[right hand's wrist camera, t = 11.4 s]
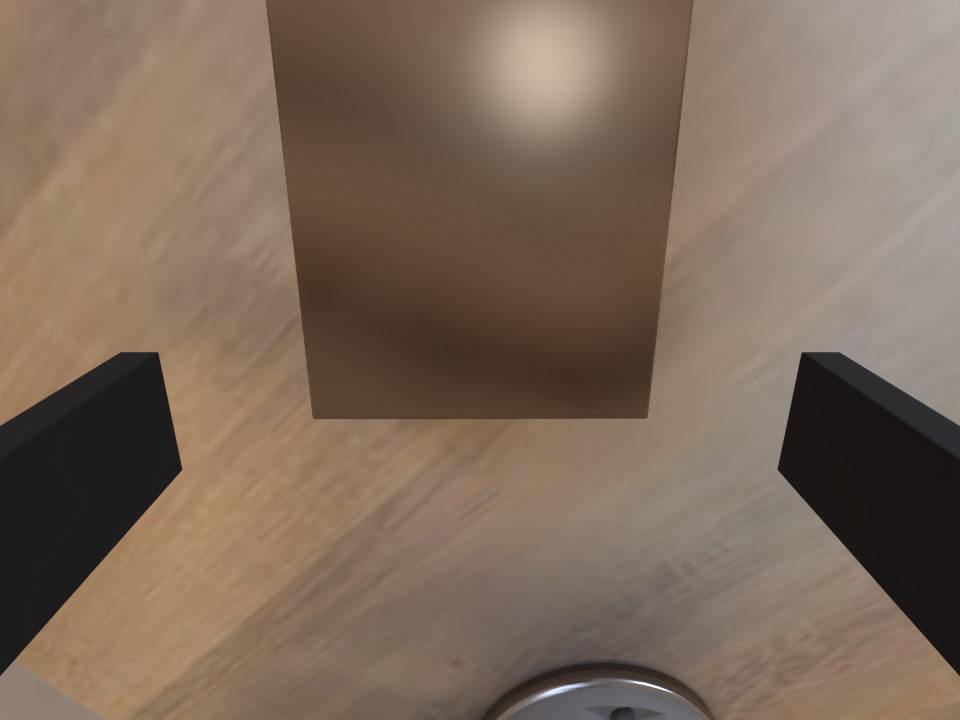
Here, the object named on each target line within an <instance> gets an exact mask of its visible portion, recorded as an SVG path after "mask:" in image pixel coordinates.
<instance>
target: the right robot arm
mask: <svg viewBox="0 0 960 720" xmlns="http://www.w3.org/2000/svg"><path fill="white" fill-rule="evenodd" d="M181 471H182V466H181V461H180V456H179V451H178V446H177V441H176V436H175V432H174V427H173V422H172V417H171V412H170V407H169V402H168V398H167V393H166V388H165V383H164V378H163V373H162V368H161V364H160V359H159V354H158V352H120V353H119V354H117V355H116V356H114V357H112V358H111V359H109V360H107V361H106V362H104V363H102V364H101V365H99V366H98V367H96V368H94V369H93V370H91V371H89V372H88V373H86V374H84V375H83V376H81V377H80V378H78V379H76V380H75V381H73V382H71V383H70V384H68V385H66V386H65V387H63V388H62V389H60V390H58V391H57V392H55V393H53V394H52V395H50V396H48V397H47V398H45V399H44V400H42V401H40V402H39V403H37V404H35V405H34V406H32V407H31V408H29V409H27V410H26V411H24V412H22V413H21V414H19V415H17V416H16V417H14V418H13V419H11V420H9V421H8V422H6V423H4V424H3V425H1V426H0V676H1V675H2V673H3V672H4V671H5V670H6V669H7V668H8V667H9V666H10V664H11V663H12V662H13V661H14V660H15V659H16V658H17V657H18V655H19V654H20V653H21V652H22V651H23V650H24V649H25V647H26V646H27V645H28V644H29V643H30V642H31V641H32V640H33V638H34V637H35V636H36V635H37V634H38V633H39V632H40V630H41V629H42V628H43V627H44V626H45V625H46V624H47V623H48V621H49V620H50V619H51V618H52V617H53V616H54V615H55V613H56V612H57V611H58V610H59V609H60V608H61V607H62V606H63V604H64V603H65V602H66V601H67V600H68V599H69V598H70V596H71V595H72V594H73V593H74V592H75V591H76V590H77V589H78V587H79V586H80V585H81V584H82V583H83V582H84V581H85V579H86V578H87V577H88V576H89V575H90V574H91V573H92V572H93V570H94V569H95V568H96V567H97V566H98V565H99V564H100V562H101V561H102V560H103V559H104V558H105V557H106V556H107V555H108V553H109V552H110V551H111V550H112V549H113V548H114V547H115V545H116V544H117V543H118V542H119V541H120V540H121V539H122V538H123V536H124V535H125V534H126V533H127V532H128V531H129V530H130V528H131V527H132V526H133V525H134V524H135V523H136V522H137V521H138V519H139V518H140V517H141V516H142V515H143V514H144V513H145V511H146V510H147V509H148V508H149V507H150V506H151V505H152V504H153V502H154V501H155V500H156V499H157V498H158V497H159V496H160V495H161V493H162V492H163V491H164V490H165V489H166V488H167V487H168V485H169V484H170V483H171V482H172V481H173V480H174V479H175V478H176V476H177V475H178V474H179V473H180V472H181ZM778 471H779V472H780V473H781V474H782V475H783V476H784V478H785V479H786V480H787V481H788V482H789V483H790V484H791V485H792V487H793V488H794V489H795V490H796V491H797V492H798V493H799V495H800V496H801V497H802V498H803V499H804V500H805V501H806V502H807V504H808V505H809V506H810V507H811V508H812V509H813V510H814V512H815V513H816V514H817V515H818V516H819V517H820V518H821V519H822V521H823V522H824V523H825V524H826V525H827V526H828V527H829V528H830V530H831V531H832V532H833V533H834V534H835V535H836V536H837V538H838V539H839V540H840V541H841V542H842V543H843V544H844V545H845V547H846V548H847V549H848V550H849V551H850V552H851V553H852V555H853V556H854V557H855V558H856V559H857V560H858V561H859V562H860V564H861V565H862V566H863V567H864V568H865V569H866V570H867V572H868V573H869V574H870V575H871V576H872V577H873V578H874V579H875V581H876V582H877V583H878V584H879V585H880V586H881V587H882V589H883V590H884V591H885V592H886V593H887V594H888V595H889V596H890V598H891V599H892V600H893V601H894V602H895V603H896V604H897V606H898V607H899V608H900V609H901V610H902V611H903V612H904V613H905V615H906V616H907V617H908V618H909V619H910V620H911V621H912V623H913V624H914V625H915V626H916V627H917V628H918V629H919V630H920V632H921V633H922V634H923V635H924V636H925V637H926V638H927V640H928V641H929V642H930V643H931V644H932V645H933V646H934V647H935V649H936V650H937V651H938V652H939V653H940V654H941V655H942V657H943V658H944V659H945V660H946V661H947V662H948V663H949V664H950V666H951V667H952V668H953V669H954V670H955V671H956V672H957V673H958V675H959V676H960V426H959V425H957V424H956V423H954V422H952V421H951V420H949V419H947V418H946V417H944V416H943V415H941V414H939V413H938V412H936V411H934V410H933V409H931V408H929V407H928V406H926V405H925V404H923V403H921V402H920V401H918V400H916V399H915V398H913V397H912V396H910V395H908V394H907V393H905V392H903V391H902V390H900V389H898V388H897V387H895V386H894V385H892V384H890V383H889V382H887V381H885V380H884V379H882V378H880V377H879V376H877V375H876V374H874V373H872V372H871V371H869V370H867V369H866V368H864V367H862V366H861V365H859V364H858V363H856V362H854V361H853V360H851V359H849V358H848V357H846V356H844V355H843V354H841V353H840V352H802V354H801V359H800V364H799V368H798V373H797V378H796V383H795V388H794V393H793V398H792V402H791V407H790V412H789V417H788V422H787V427H786V432H785V436H784V441H783V446H782V451H781V456H780V461H779V466H778ZM482 720H714V718H713V716H712V714H711V712H710V711H709V709H708V708H707V706H706V705H705V704H704V703H703V701H702V700H701V699H700V698H699V697H698V696H697V695H696V694H695V693H694V692H692V691H691V690H690V689H688V688H687V687H686V686H684V685H683V684H681V683H679V682H678V681H676V680H674V679H672V678H670V677H668V676H665V675H663V674H660V673H658V672H655V671H652V670H648V669H644V668H640V667H635V666H630V665H621V664H586V665H578V666H572V667H567V668H562V669H559V670H555V671H551V672H548V673H545V674H543V675H540V676H537V677H535V678H533V679H531V680H528V681H527V682H525V683H523V684H521V685H519V686H517V687H516V688H514V689H513V690H511V691H510V692H508V693H507V694H506V695H505V696H503V697H502V698H501V699H500V700H499V701H497V702H496V703H495V704H494V705H493V706H492V707H491V709H490V710H489V711H488V712H487V713H486V715H485V716H484V718H483V719H482Z"/></svg>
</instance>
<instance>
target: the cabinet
mask: <svg viewBox="0 0 960 720" xmlns="http://www.w3.org/2000/svg"><path fill="white" fill-rule="evenodd" d="M266 6H267V15H268V24H269V32H270V41H271V50H272V59H273V68H274V77H275V86H276V95H277V103H278V112H279V121H280V130H281V139H282V148H283V157H284V166H285V175H286V183H287V192H288V201H289V210H290V219H291V228H292V237H293V246H294V254H295V263H296V272H297V281H298V290H299V299H300V308H301V317H302V325H303V334H304V343H305V352H306V361H307V370H308V379H309V388H310V396H311V405H312V414H313V418H314V419H581V418H647V416H648V409H649V400H650V391H651V382H652V373H653V363H654V354H655V345H656V336H657V327H658V318H659V309H660V300H661V291H662V282H663V272H664V263H665V254H666V245H667V236H668V227H669V218H670V209H671V200H672V191H673V181H674V172H675V163H676V154H677V145H678V136H679V127H680V118H681V109H682V100H683V90H684V81H685V72H686V63H687V54H688V45H689V36H690V27H691V18H692V9H693V0H266Z"/></svg>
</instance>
